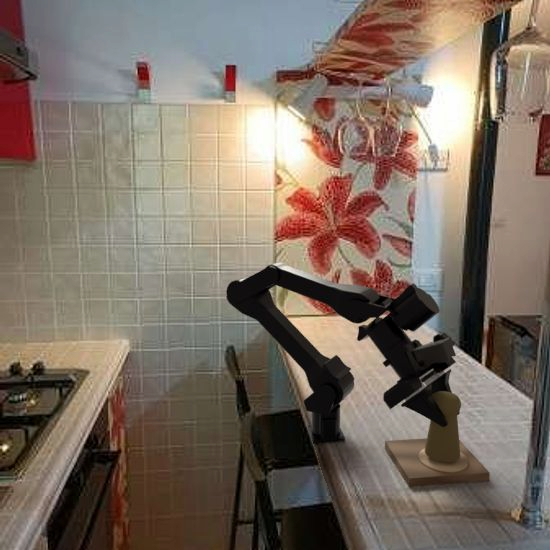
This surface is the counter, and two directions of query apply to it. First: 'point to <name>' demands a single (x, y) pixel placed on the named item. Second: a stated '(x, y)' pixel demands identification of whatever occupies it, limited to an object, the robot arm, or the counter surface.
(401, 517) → the counter surface
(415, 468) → the plate
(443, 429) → the pepper shaker
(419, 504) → the counter surface
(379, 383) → the counter surface
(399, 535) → the counter surface
